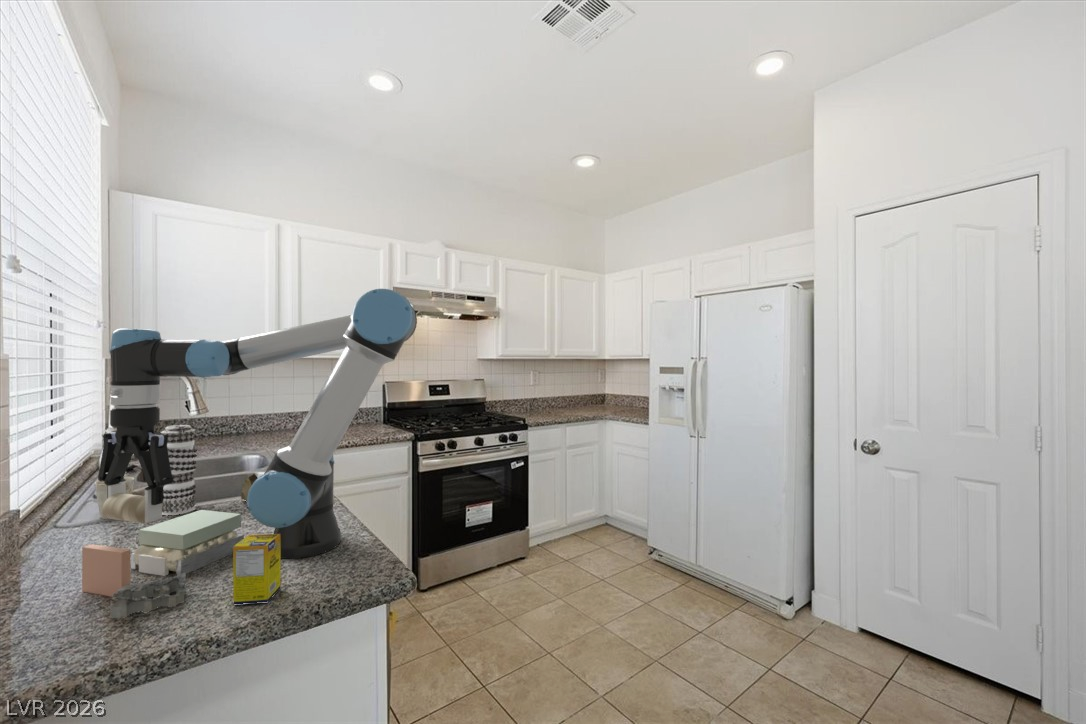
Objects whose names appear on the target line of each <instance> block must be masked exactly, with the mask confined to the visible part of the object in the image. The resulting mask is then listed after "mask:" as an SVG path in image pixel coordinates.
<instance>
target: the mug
mask: <svg viewBox="0 0 1086 724" xmlns="http://www.w3.org/2000/svg"><path fill="white" fill-rule="evenodd" d="M123 478H124V479H125V480H126V481H123V482H119V483H126V494H132V495H133V491H134V485H135V477H132V476H124V477H123ZM94 489H95V494H96V500H97V506H98V511H99V516H100V518H101V519H102V520H106V519H105V518H106V517H105V516H104V515H103V513H102V507H103V504H104V502H105V501H106V500H107V485H106V484H105V482H104V481H99V480H98V481H95V482H94Z"/></svg>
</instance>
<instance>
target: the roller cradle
mask: <svg viewBox="0 0 1086 724" xmlns="http://www.w3.org/2000/svg"><path fill="white" fill-rule="evenodd" d="M166 561H167V558H164V557H157V556H150V555H143V554H141V555H139V568H138V572H139V573H142V574H150V575H156V576H163V577H166V576H167V575H169V573H170V571H169V569H168V568H167V566H166ZM131 577H132V576H131V571H130V584H132V583H131Z"/></svg>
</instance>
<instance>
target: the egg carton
mask: <svg viewBox="0 0 1086 724" xmlns="http://www.w3.org/2000/svg"><path fill="white" fill-rule="evenodd" d="M186 580H187V574H185V573H182V574H180V575H178V576H177V575H174V576H172V577H166V578H165V579H162V578H158V579H156V580H152V581H146V582H144V583H131V584H129V585H126V586H124V587H122V588H120V589H119V590H117V591H116V592H115V593H114V595H113V597H111V598H110V599H109V604H108V605H109V606H108V607H110V615H109V617H110V618H112V619H118V618H123V619H125V618H124V617H126V618H128V617H129V616H130V615H129V614H131V615H133V614H132V613H134V614H136V613H135V612H137V613H139V612H138V611H143V612H147V613H149V612H148V611H151V610H153V609H154V610H156V609H158V608H157V607H159V608H161V607H160V606H163V607H167V606H168V607H167V608H172V607H171V606H173V607H176V606H177V605H178V604H180V602H181V603H183V602H185V594H186ZM175 592H176V594H172V595H170V594H171V593H175ZM155 608H156V609H155ZM154 610H153V611H154ZM143 612H142V613H143ZM151 612H152V611H151ZM128 615H129V616H128ZM127 616H128V617H127Z"/></svg>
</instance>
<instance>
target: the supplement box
mask: <svg viewBox="0 0 1086 724" xmlns="http://www.w3.org/2000/svg"><path fill="white" fill-rule="evenodd" d="M232 555H233V558H232V561H233V563H232V568H233V569H232V574H233V575H232V577H233V578H232V580H233V583H232V584H233V586H232V588H233V589H232V590H233V593H232V595H233V605H234V604H243V603H257V602H267V601H269V600H270V599H271V598H272V596H273V595H274V594H275V593H276V592H277V591H278V590H279V589H281V588H282V587H281V585H282V584H281V583H282V582H281V576H282V575H281V574H282V573H281V571H282V569H281V567H282V565H281V564H282V563H281V543H280V534H274V533H265V534H264V533H263V534H248V535H246V537H245V536H244V539H243V540H242V541H240V542H239V543H237V544H236V545H235V546H234V547H233V553H232ZM279 591H280V590H279ZM279 591H278V592H279ZM278 592H277V593H278ZM277 593H276V594H277ZM276 594H275V595H276ZM275 595H274V596H275ZM272 599H273V598H272ZM272 599H271V600H272ZM271 600H270V601H271ZM270 601H269V602H270Z"/></svg>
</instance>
